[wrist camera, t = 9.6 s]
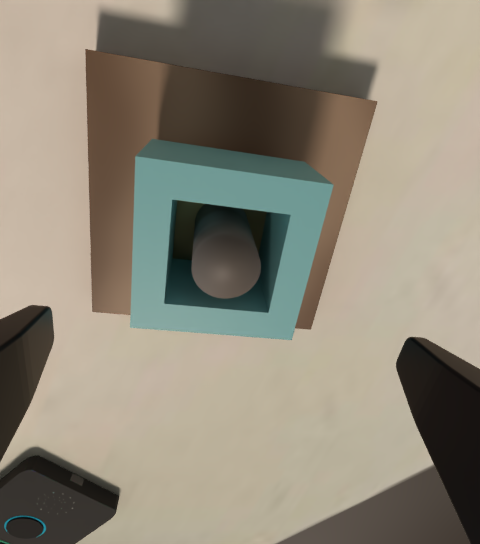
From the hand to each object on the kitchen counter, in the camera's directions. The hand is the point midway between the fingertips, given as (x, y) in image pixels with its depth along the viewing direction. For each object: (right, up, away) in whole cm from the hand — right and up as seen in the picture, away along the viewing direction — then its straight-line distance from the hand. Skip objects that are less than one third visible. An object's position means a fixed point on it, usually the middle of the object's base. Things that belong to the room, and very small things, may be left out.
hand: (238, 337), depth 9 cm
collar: (-1, +4, +7) cm, 8 cm away
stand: (-1, +5, +10) cm, 11 cm away
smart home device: (-19, -20, +21) cm, 35 cm away
